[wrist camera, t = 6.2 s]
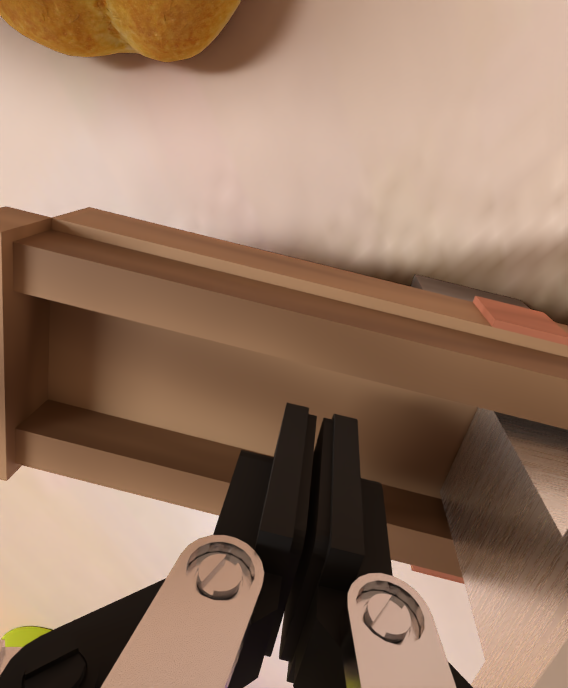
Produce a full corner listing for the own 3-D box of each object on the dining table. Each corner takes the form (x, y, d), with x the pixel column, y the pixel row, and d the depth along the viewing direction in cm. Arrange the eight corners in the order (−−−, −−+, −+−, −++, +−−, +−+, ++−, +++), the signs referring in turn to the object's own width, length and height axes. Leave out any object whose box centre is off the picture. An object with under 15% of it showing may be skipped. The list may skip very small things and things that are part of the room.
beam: (110, 179, 18) (-53, 209, 10) (847, 361, 17) (1214, 524, 10) (98, 356, 21) (-35, 476, 13) (726, 514, 20) (941, 725, 13)
